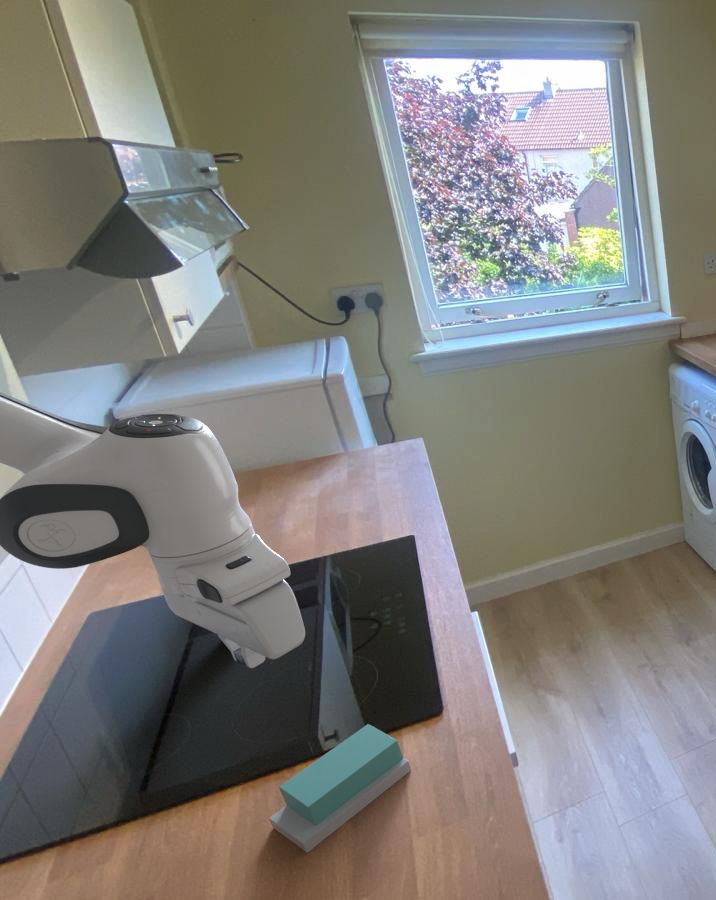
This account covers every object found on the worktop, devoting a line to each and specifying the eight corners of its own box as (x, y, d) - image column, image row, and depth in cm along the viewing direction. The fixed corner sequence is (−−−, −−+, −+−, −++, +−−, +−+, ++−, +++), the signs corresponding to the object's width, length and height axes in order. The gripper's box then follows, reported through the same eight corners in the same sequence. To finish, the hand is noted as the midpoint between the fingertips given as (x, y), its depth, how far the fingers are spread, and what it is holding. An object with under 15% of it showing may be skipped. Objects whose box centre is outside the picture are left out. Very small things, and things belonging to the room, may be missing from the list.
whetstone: (272, 827, 85) (307, 853, 82) (260, 799, 84) (294, 824, 80) (377, 750, 96) (411, 770, 93) (368, 723, 94) (402, 743, 91)
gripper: (123, 551, 80) (169, 652, 86) (233, 598, 72) (276, 706, 77) (188, 525, 85) (227, 622, 91) (297, 565, 77) (333, 669, 83)
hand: (250, 661), depth 84 cm, fingers closed
